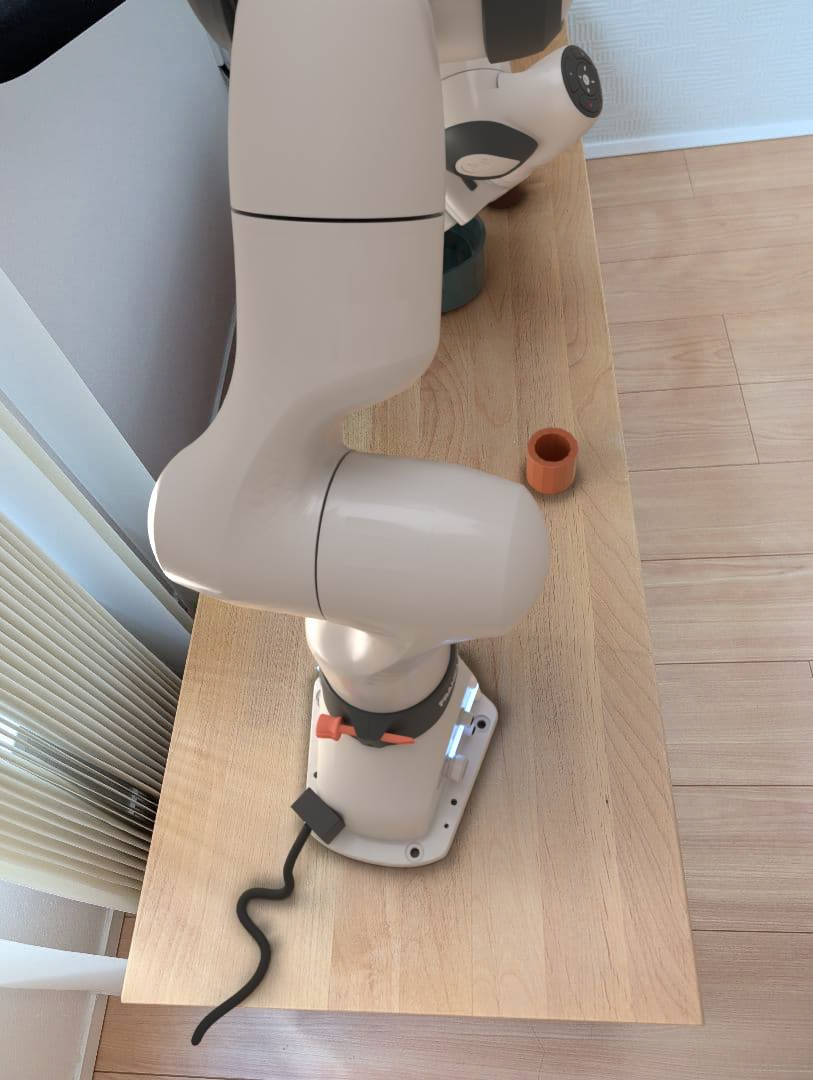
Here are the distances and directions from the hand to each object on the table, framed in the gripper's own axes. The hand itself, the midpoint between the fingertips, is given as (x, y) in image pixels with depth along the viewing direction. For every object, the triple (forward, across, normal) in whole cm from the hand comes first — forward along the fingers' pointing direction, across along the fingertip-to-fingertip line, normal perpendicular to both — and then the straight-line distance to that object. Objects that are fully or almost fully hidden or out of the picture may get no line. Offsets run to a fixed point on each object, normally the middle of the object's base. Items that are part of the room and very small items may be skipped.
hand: (425, 205), depth 102 cm
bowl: (+5, +3, +8) cm, 10 cm away
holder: (-16, +24, +29) cm, 41 cm away
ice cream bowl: (+6, -17, +8) cm, 19 cm away
